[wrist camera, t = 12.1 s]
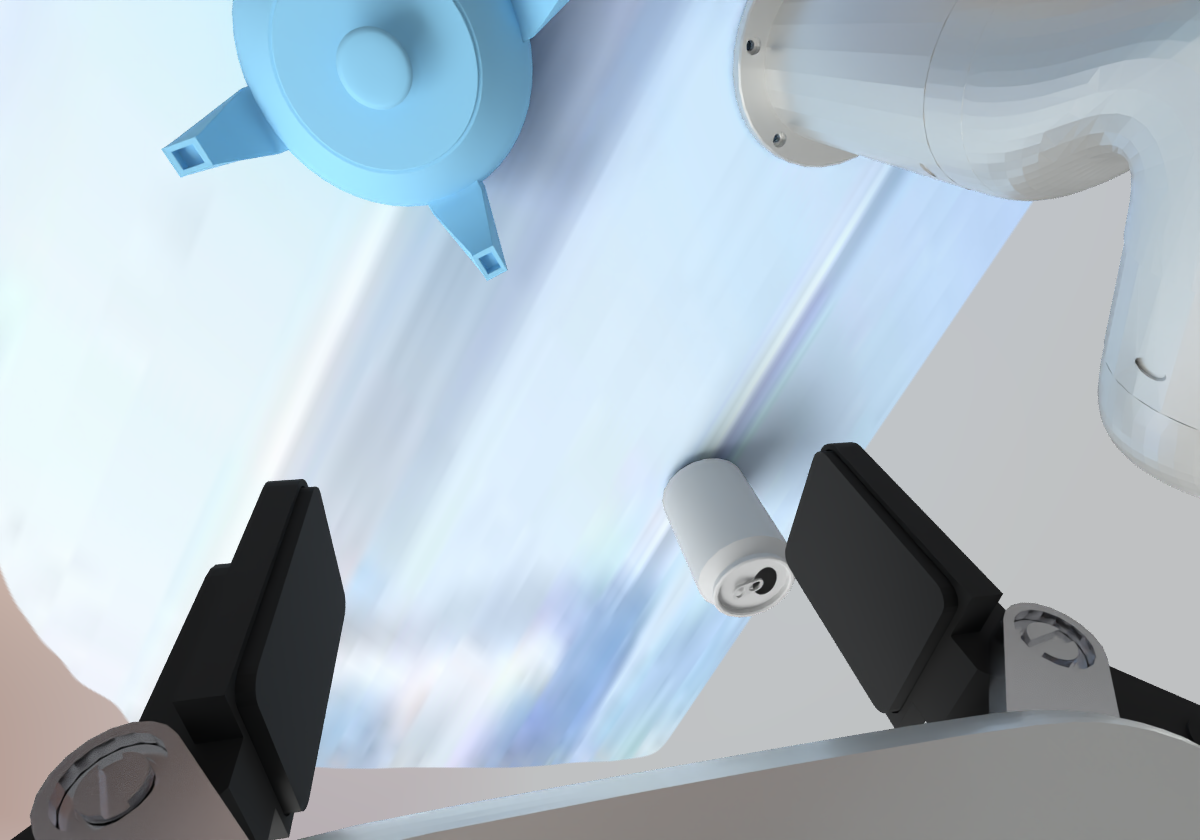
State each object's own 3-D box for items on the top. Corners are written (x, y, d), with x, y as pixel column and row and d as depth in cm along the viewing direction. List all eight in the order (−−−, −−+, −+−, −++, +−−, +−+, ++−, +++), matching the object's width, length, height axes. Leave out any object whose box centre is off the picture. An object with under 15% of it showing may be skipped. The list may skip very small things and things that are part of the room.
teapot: (585, -27, 32) (635, -49, 23) (494, 241, 38) (505, 304, 29) (267, -208, 26) (169, -333, 17) (223, 141, 33) (135, 182, 24)
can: (738, 510, 56) (798, 613, 46) (660, 525, 55) (704, 634, 45) (743, 445, 51) (810, 543, 42) (658, 460, 51) (707, 564, 41)
